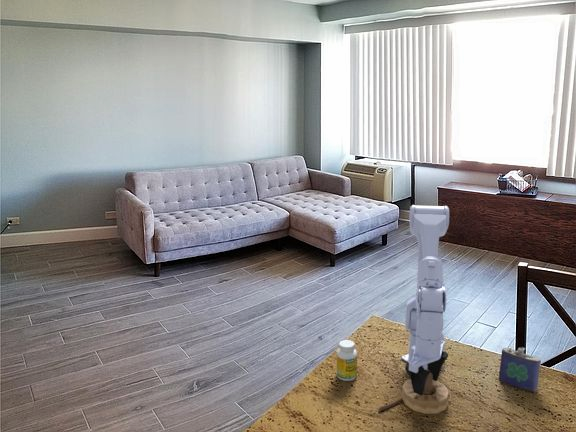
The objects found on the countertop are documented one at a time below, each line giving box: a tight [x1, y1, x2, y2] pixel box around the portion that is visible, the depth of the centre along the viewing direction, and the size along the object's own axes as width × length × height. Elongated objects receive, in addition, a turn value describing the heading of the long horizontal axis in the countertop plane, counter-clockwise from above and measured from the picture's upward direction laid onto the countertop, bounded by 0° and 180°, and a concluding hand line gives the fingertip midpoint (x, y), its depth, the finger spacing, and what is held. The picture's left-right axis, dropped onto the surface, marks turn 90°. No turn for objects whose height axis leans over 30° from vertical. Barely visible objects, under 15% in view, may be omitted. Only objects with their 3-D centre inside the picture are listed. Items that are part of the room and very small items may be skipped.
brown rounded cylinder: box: [422, 369, 433, 396], centre depth 121 cm, size 3×3×8 cm
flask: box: [498, 346, 542, 393], centre depth 126 cm, size 9×3×11 cm, turn 50°
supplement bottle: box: [336, 339, 358, 382], centre depth 132 cm, size 5×5×10 cm
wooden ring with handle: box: [378, 378, 450, 415], centre depth 120 cm, size 18×10×3 cm, turn 123°
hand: (425, 385), depth 121 cm, fingers open, 7 cm apart
